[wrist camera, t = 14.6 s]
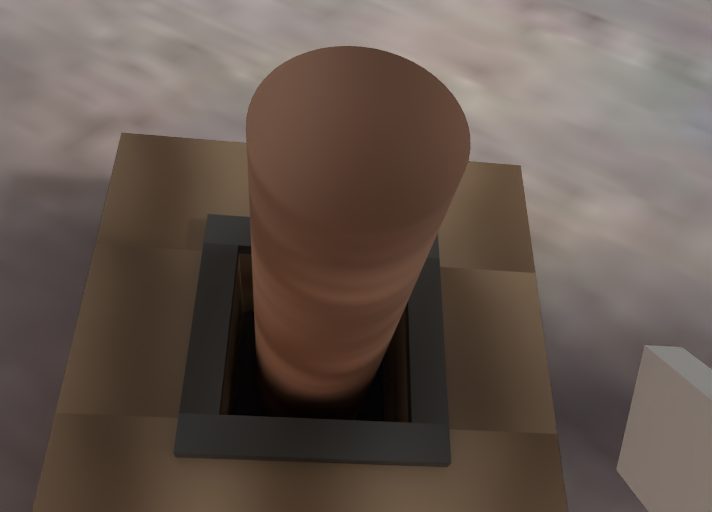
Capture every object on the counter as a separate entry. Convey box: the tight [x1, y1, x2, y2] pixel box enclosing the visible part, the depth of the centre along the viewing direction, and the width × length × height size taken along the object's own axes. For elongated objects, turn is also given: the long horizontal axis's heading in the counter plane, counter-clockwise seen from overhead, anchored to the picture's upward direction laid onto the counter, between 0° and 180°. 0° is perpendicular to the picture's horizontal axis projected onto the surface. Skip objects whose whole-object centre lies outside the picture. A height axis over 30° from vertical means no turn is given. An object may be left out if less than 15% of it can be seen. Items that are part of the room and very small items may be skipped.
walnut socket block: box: [32, 133, 568, 512], centre depth 24 cm, size 16×16×6 cm
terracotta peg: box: [246, 46, 470, 420], centre depth 20 cm, size 4×4×16 cm
